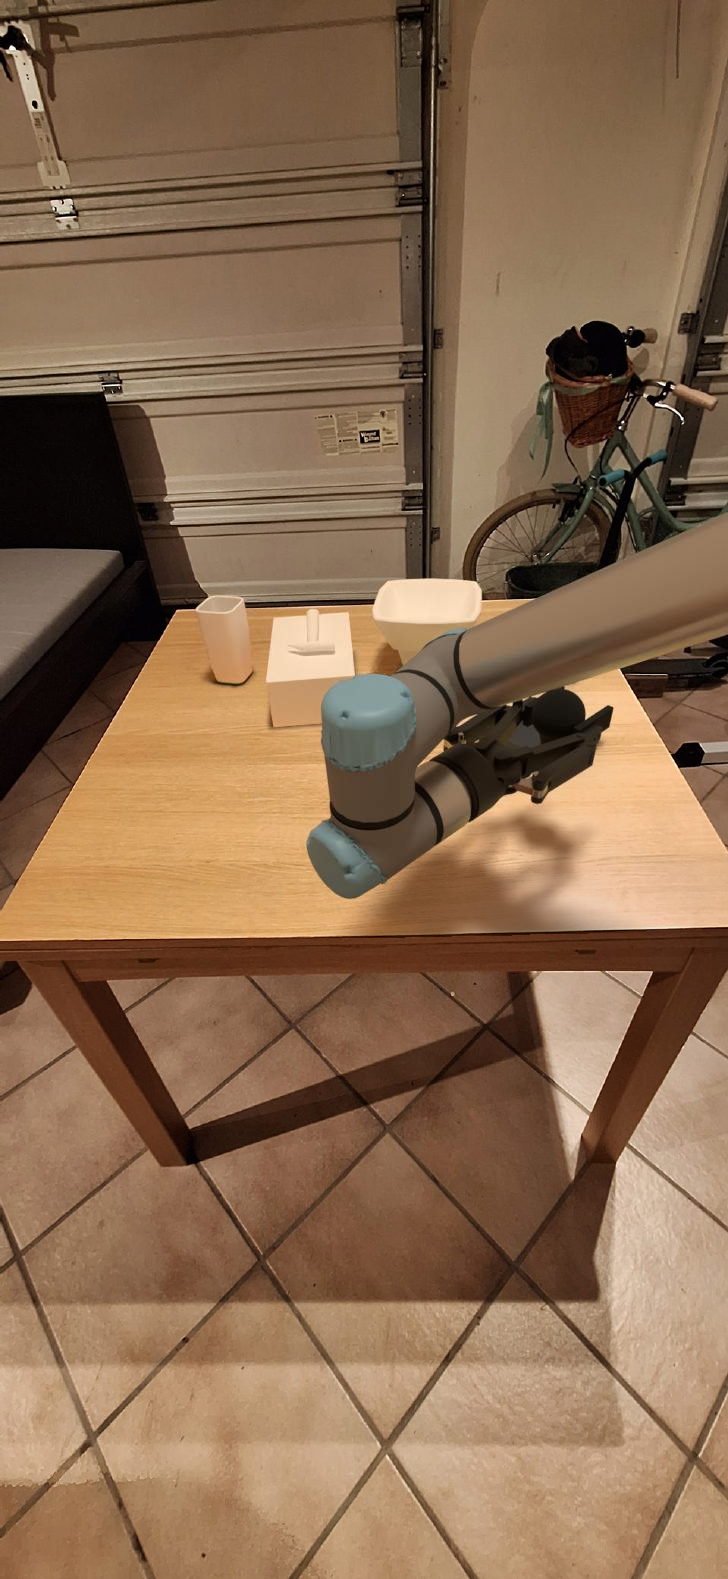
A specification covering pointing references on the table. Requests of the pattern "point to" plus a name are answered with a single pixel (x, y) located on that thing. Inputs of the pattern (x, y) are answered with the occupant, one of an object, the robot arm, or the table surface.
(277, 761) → the table surface
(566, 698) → the light bulb
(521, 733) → the slate tray
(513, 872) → the table surface
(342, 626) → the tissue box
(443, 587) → the bowl
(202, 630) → the cup
